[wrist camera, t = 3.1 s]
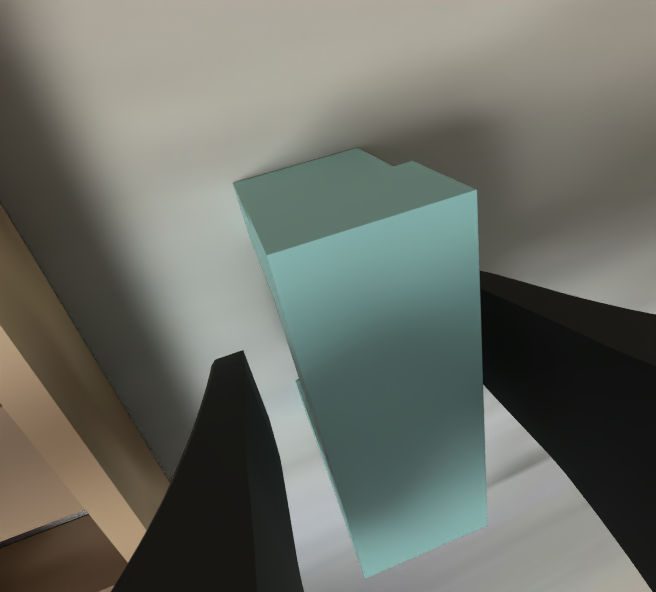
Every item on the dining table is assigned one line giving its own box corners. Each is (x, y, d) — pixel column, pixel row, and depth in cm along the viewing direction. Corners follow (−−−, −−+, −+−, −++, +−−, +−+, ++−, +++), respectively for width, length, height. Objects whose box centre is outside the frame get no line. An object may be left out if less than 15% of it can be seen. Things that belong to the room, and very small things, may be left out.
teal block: (397, 388, 15) (487, 525, 10) (308, 421, 14) (365, 579, 10) (354, 134, 10) (476, 190, 6) (228, 170, 10) (266, 255, 6)
